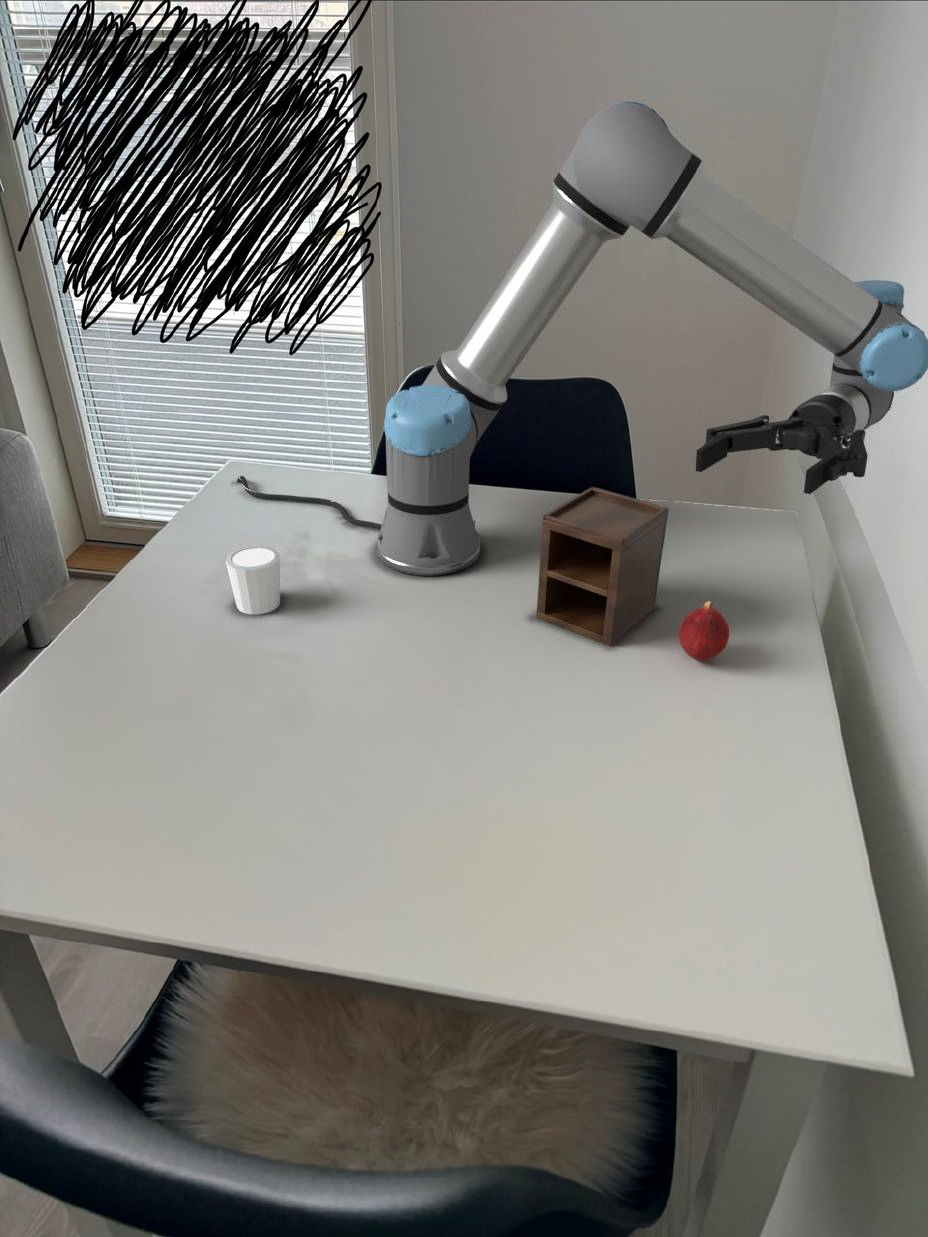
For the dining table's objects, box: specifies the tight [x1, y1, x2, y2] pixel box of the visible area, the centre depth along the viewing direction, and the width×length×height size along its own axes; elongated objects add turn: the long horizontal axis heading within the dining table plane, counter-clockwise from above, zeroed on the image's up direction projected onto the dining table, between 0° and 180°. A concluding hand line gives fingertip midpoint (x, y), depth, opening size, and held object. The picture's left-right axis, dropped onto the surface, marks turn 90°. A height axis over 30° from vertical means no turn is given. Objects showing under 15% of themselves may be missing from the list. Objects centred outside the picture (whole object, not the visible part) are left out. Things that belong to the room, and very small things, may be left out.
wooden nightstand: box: [535, 486, 670, 647], centre depth 112 cm, size 11×12×15 cm
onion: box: [677, 600, 730, 662], centre depth 104 cm, size 6×6×8 cm
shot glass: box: [225, 545, 281, 616], centre depth 115 cm, size 7×7×7 cm
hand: (751, 471), depth 102 cm, fingers open, 13 cm apart
